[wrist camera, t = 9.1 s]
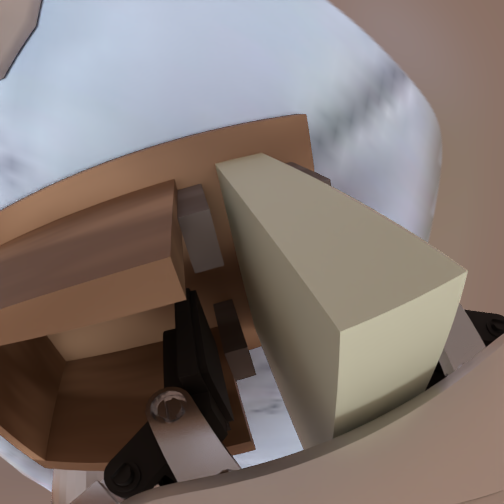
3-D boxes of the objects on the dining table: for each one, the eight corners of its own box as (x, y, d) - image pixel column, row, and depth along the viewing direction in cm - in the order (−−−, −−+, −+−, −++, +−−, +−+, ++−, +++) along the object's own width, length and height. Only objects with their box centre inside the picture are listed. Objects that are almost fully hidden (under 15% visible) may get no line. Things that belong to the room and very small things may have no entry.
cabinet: (319, 314, 18) (383, 411, 11) (67, 378, 16) (50, 477, 9) (297, 113, 12) (427, 126, 5) (-26, 225, 10) (-110, 308, 3)
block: (302, 311, 16) (393, 463, 7) (254, 327, 16) (323, 496, 7) (279, 149, 12) (496, 253, 3) (215, 163, 11) (340, 331, 3)
